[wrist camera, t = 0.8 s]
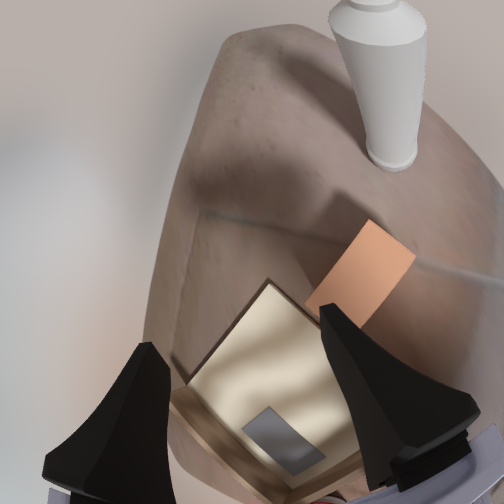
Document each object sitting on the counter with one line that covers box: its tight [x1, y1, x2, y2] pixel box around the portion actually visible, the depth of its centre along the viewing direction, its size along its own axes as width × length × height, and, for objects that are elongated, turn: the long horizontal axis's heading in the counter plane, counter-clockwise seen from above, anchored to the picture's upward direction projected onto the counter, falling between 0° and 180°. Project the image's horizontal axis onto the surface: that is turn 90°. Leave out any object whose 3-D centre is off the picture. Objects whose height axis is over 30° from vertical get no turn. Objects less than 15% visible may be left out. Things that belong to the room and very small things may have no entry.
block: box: [304, 219, 416, 328], centre depth 21 cm, size 8×4×6 cm, turn 139°
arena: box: [169, 284, 365, 504], centre depth 23 cm, size 20×18×5 cm
